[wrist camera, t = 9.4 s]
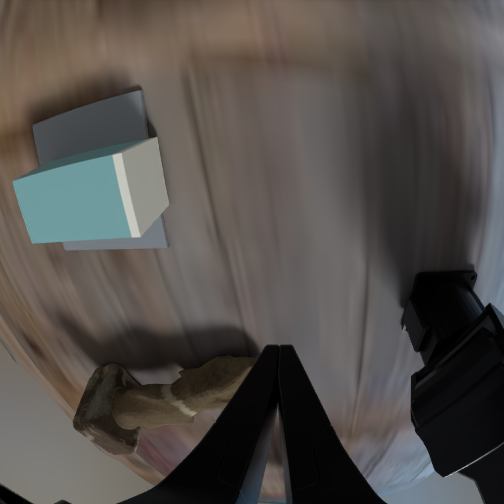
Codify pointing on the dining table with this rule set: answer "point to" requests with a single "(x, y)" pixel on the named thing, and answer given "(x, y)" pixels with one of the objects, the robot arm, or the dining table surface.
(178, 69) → the dining table surface
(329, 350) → the dining table surface
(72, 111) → the felt mat
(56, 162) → the teal block
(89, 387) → the sculpture
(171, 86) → the dining table surface
